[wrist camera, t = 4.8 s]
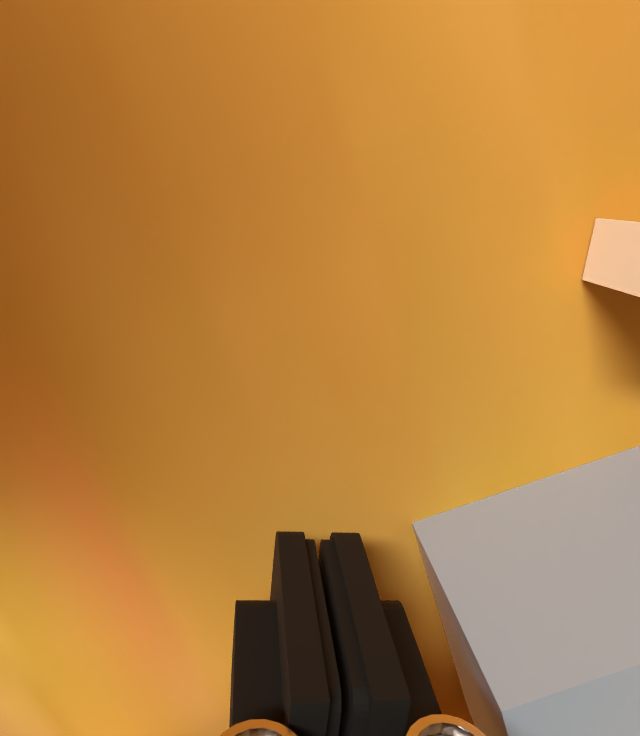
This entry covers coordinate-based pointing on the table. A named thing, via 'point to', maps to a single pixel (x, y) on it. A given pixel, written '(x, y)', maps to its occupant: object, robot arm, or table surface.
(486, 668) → the block
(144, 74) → the table surface
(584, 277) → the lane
